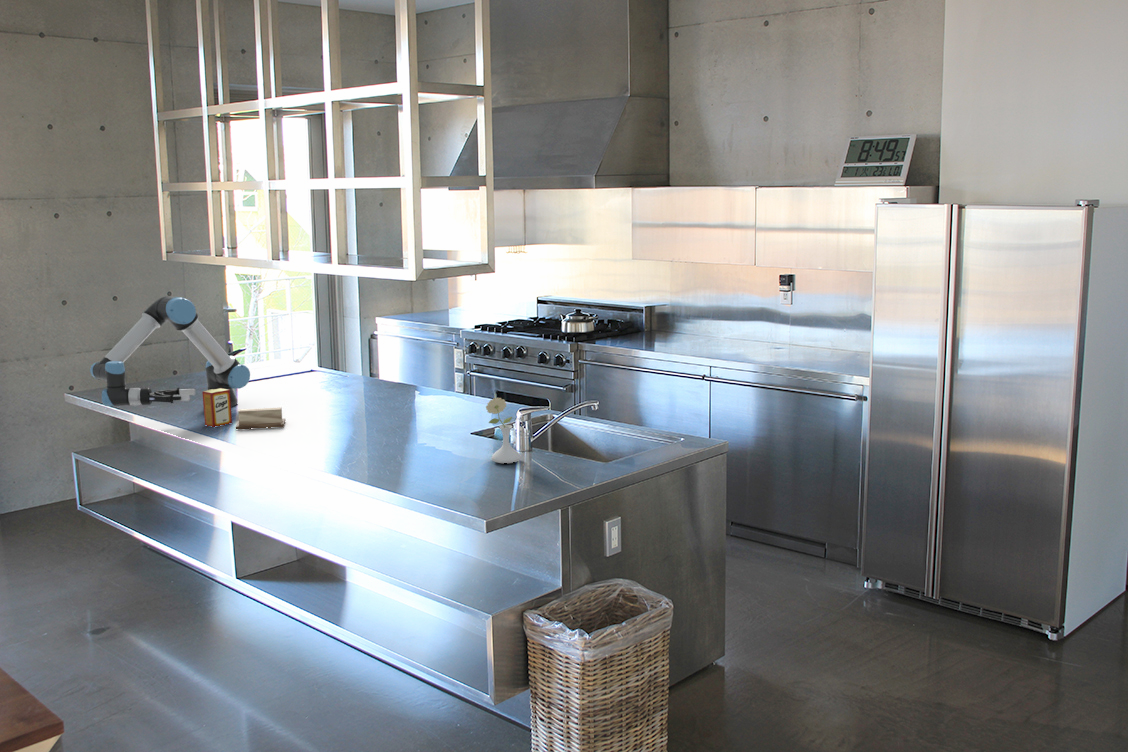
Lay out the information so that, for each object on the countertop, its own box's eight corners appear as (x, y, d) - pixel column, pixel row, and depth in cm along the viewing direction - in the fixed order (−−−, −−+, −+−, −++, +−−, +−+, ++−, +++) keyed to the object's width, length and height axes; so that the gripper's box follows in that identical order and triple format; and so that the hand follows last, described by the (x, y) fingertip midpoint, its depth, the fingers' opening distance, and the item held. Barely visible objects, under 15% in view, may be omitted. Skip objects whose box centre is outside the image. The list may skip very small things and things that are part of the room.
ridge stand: (239, 424, 422) (238, 407, 421) (285, 421, 426) (284, 405, 425) (235, 430, 411) (234, 413, 409) (283, 427, 415) (282, 411, 413)
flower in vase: (521, 457, 362) (520, 394, 357) (521, 465, 350) (520, 400, 346) (487, 458, 361) (486, 394, 357) (486, 466, 350) (484, 400, 346)
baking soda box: (223, 421, 427) (220, 387, 424) (232, 423, 423) (229, 388, 420) (205, 425, 419) (202, 390, 417) (213, 427, 416) (211, 392, 413)
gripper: (148, 399, 425) (197, 397, 429) (134, 410, 401) (187, 408, 405) (146, 383, 424) (196, 381, 428) (133, 393, 399) (186, 391, 404)
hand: (192, 394), depth 416 cm, fingers open, 13 cm apart
